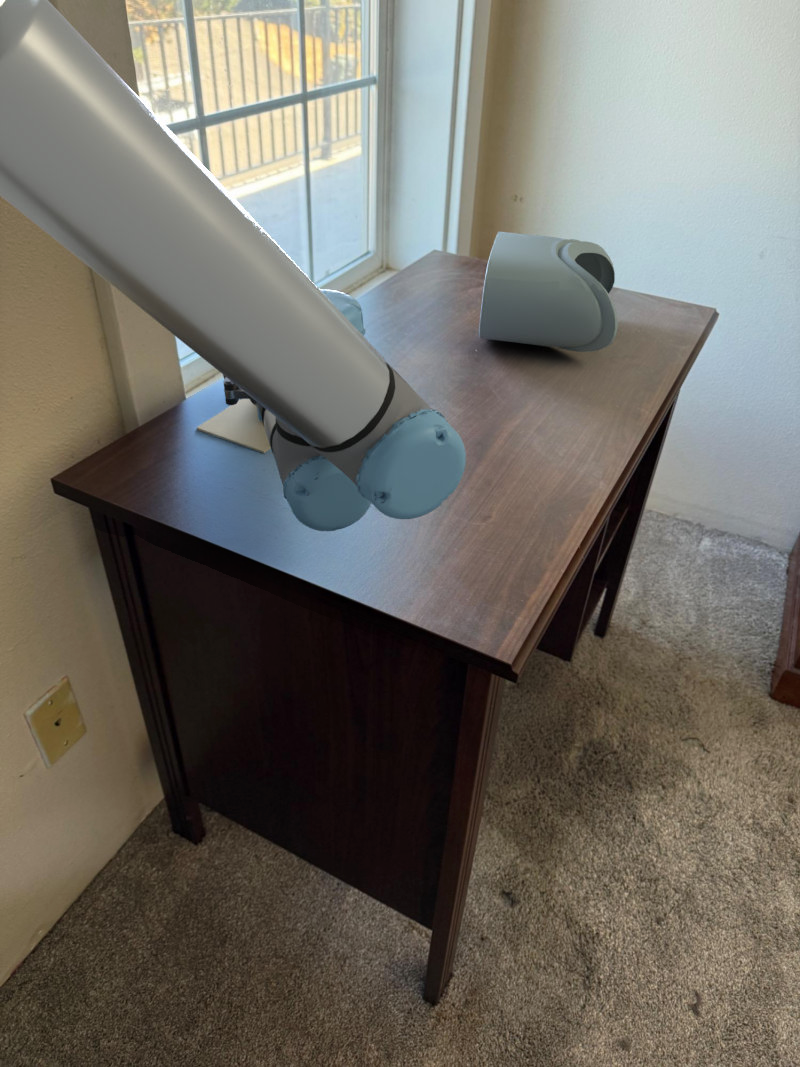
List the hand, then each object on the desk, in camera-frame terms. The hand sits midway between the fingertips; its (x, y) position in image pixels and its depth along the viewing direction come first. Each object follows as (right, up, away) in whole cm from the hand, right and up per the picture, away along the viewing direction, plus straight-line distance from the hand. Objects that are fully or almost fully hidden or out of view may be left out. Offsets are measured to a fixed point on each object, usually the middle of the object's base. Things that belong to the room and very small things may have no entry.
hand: (263, 325), depth 92 cm
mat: (+1, -10, +2) cm, 10 cm away
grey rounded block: (+39, +5, +24) cm, 46 cm away
